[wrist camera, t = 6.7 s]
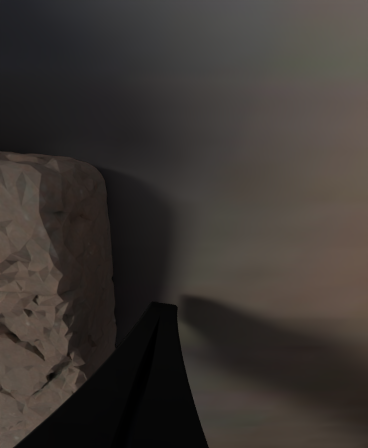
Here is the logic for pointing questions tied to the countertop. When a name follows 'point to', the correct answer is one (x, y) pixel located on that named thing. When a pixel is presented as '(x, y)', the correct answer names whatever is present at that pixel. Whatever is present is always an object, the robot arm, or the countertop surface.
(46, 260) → the brick
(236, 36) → the countertop surface
